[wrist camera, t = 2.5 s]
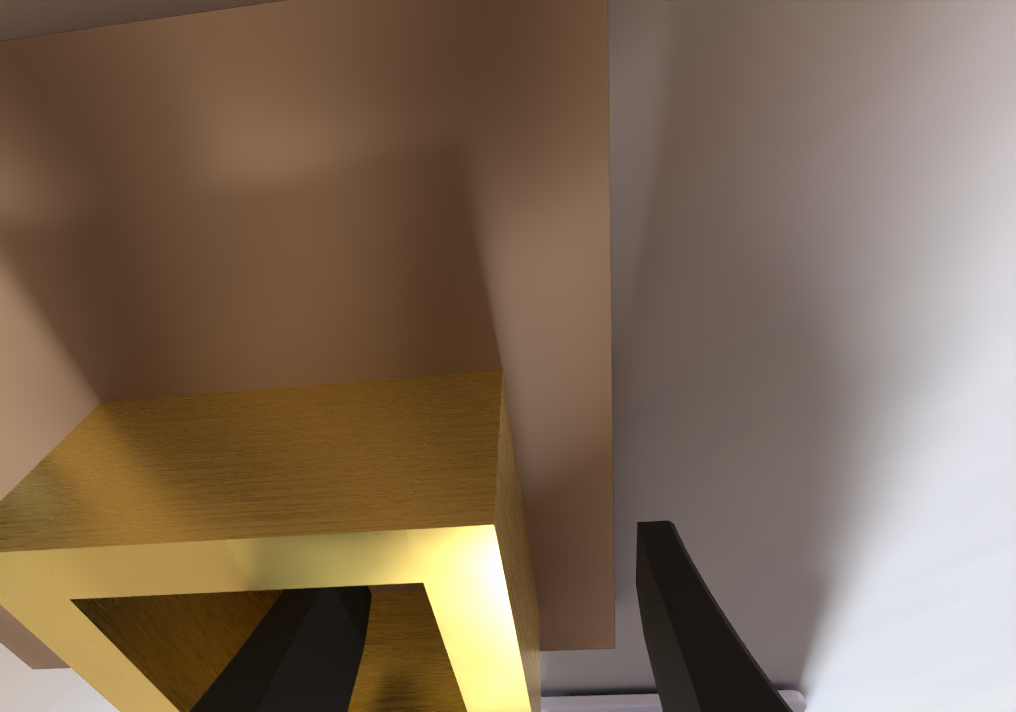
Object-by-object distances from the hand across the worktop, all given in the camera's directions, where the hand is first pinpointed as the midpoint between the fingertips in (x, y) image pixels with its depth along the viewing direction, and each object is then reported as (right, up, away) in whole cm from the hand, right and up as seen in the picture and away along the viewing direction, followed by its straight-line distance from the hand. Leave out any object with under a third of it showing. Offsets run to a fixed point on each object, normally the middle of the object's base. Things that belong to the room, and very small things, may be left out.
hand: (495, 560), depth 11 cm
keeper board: (-7, +2, +1) cm, 7 cm away
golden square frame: (-3, 0, +1) cm, 4 cm away
